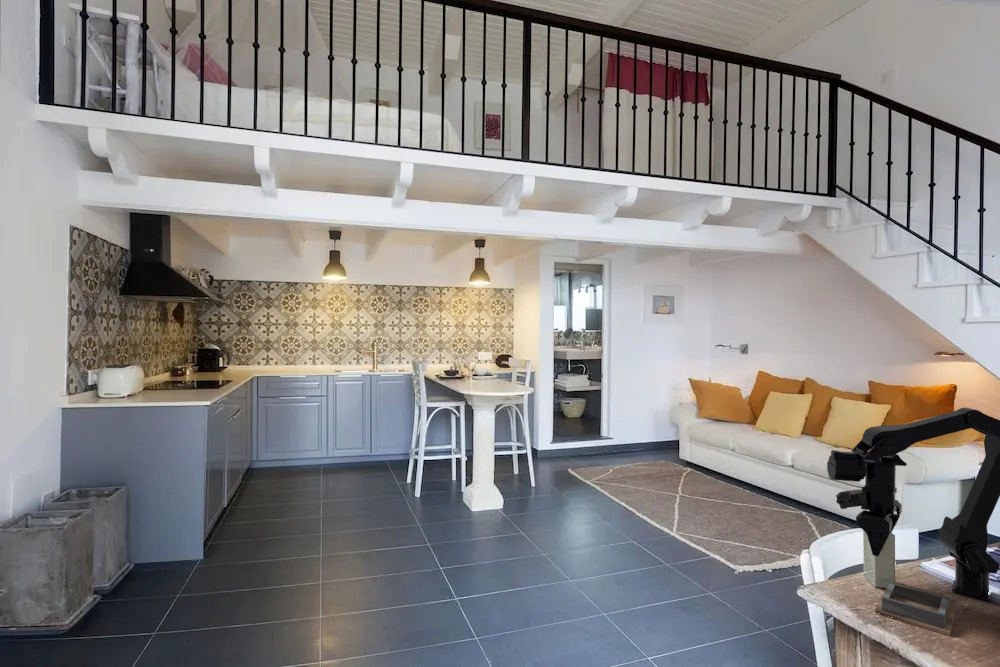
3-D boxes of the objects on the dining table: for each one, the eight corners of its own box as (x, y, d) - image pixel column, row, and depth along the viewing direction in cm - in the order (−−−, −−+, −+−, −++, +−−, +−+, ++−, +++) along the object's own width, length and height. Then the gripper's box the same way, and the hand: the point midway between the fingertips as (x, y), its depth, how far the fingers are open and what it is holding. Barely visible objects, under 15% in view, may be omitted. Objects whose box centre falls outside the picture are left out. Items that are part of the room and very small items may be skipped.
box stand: (885, 592, 122) (885, 578, 121) (955, 612, 113) (955, 597, 113) (875, 613, 113) (875, 598, 113) (950, 635, 105) (950, 619, 105)
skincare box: (896, 589, 123) (897, 536, 123) (874, 587, 124) (874, 534, 124) (882, 577, 129) (883, 526, 129) (861, 575, 130) (862, 524, 130)
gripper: (848, 469, 139) (847, 530, 139) (830, 484, 125) (829, 551, 125) (902, 477, 131) (901, 542, 131) (889, 494, 117) (888, 566, 118)
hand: (879, 549), depth 126 cm, fingers open, 8 cm apart
